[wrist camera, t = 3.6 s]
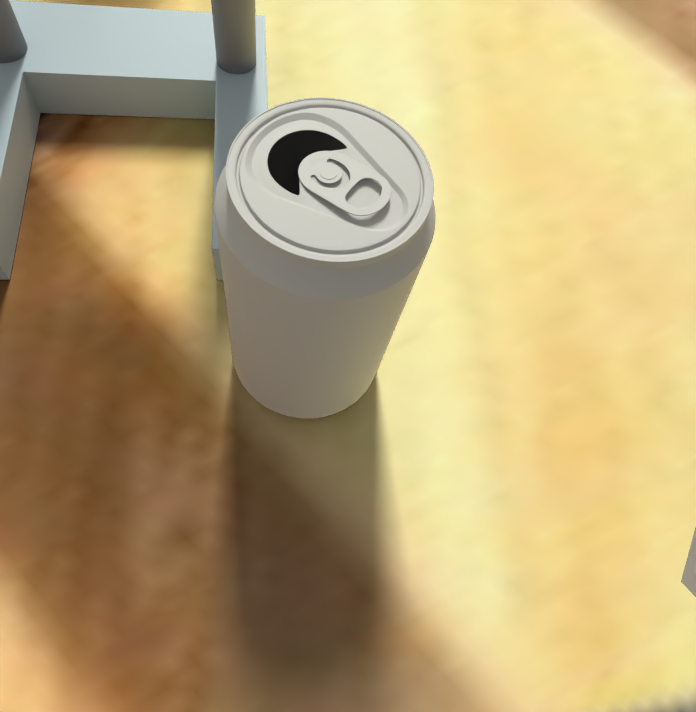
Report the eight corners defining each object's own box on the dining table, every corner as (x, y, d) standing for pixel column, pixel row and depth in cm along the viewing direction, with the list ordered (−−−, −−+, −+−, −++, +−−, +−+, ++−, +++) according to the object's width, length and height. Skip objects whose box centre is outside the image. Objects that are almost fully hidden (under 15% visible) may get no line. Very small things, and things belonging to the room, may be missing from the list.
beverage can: (292, 271, 29) (307, 51, 18) (403, 347, 28) (490, 163, 17) (202, 367, 26) (156, 177, 15) (320, 455, 25) (360, 318, 14)
